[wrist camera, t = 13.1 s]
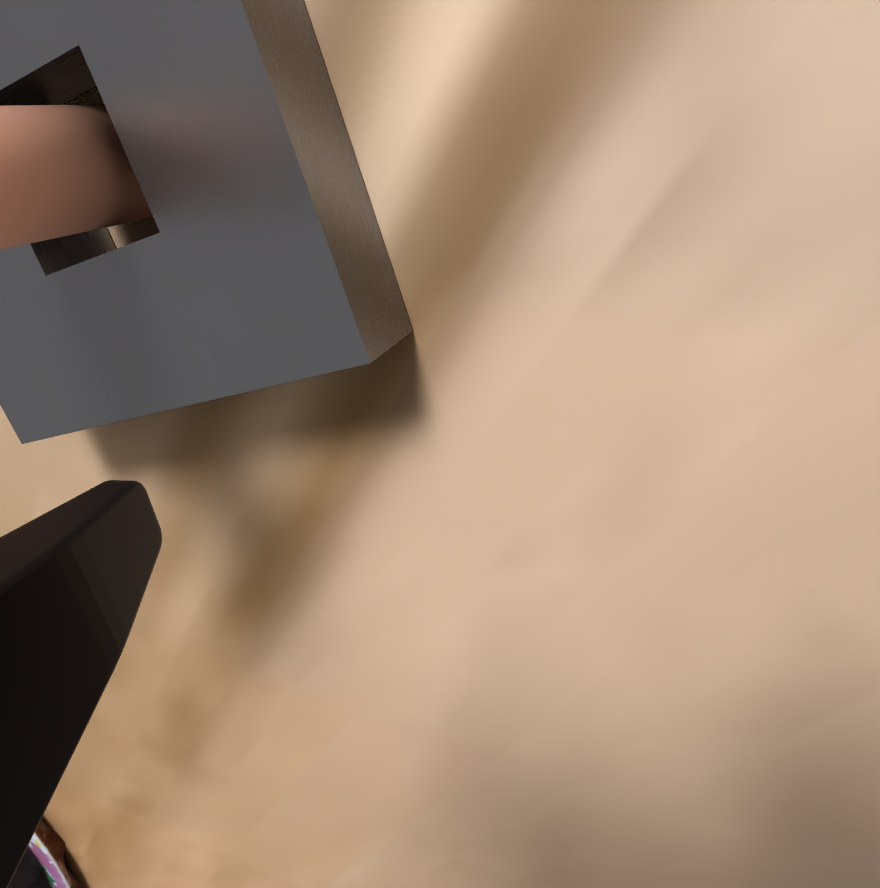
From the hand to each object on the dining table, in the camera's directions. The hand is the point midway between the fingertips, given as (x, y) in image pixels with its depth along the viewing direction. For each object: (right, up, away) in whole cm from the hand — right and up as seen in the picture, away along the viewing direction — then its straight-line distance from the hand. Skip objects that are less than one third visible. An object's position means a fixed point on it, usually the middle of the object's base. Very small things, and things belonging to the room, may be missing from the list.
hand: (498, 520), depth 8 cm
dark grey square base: (-10, +9, +13) cm, 19 cm away
